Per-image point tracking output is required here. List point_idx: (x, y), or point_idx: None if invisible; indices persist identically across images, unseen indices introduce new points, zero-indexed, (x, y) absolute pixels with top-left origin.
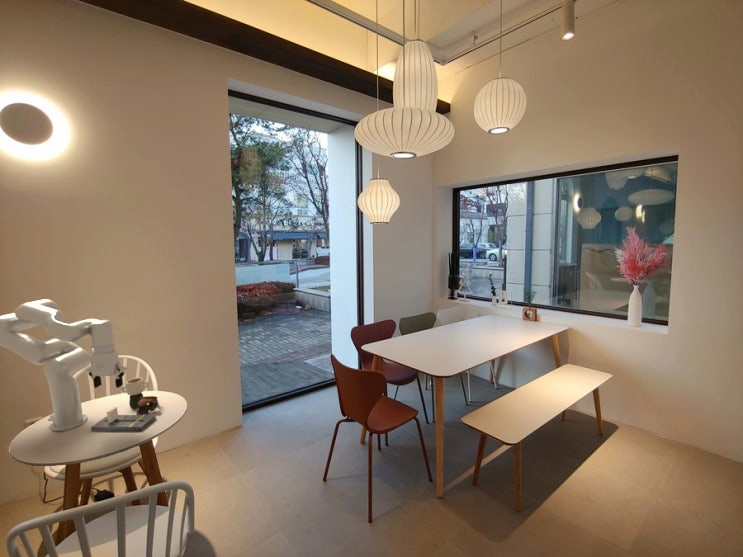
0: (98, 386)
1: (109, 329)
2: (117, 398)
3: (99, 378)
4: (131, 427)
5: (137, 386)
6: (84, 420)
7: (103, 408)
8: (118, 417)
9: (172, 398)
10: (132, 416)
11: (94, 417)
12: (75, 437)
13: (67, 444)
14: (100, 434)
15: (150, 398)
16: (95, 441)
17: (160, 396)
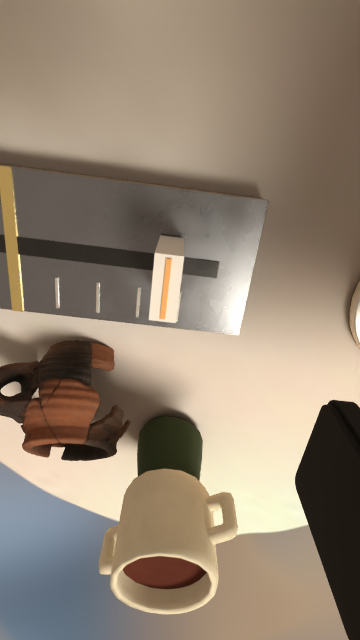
0: (310, 436)
1: None
2: None
3: (352, 601)
4: None
5: (127, 526)
6: (357, 307)
7: None
8: None
9: (37, 472)
10: (82, 301)
11: (325, 351)
12: (324, 134)
13: (333, 39)
14: (184, 152)
15: (32, 429)
16: (163, 56)
17: (109, 493)
